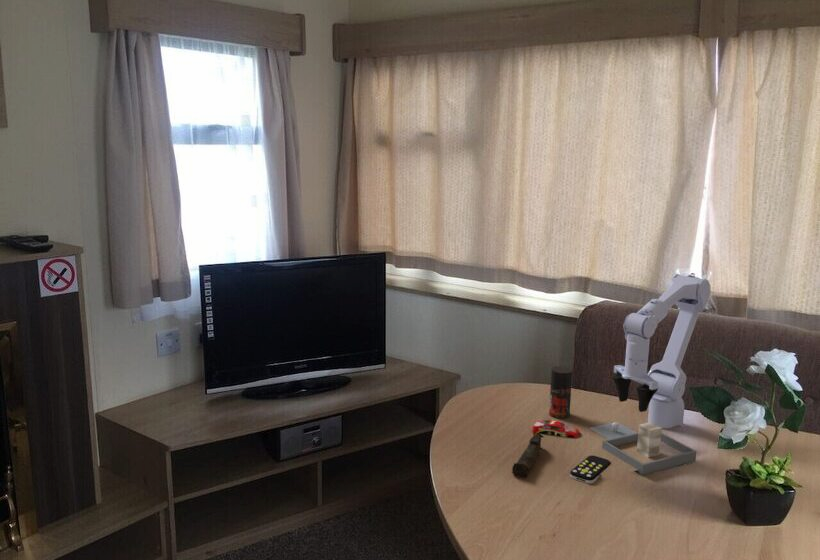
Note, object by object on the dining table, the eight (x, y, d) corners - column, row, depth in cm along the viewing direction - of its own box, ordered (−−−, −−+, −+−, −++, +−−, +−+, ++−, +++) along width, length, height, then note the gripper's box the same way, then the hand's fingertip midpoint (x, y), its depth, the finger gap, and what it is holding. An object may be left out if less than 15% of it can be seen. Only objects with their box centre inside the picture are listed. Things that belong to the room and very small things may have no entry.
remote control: (612, 467, 187) (613, 459, 186) (591, 486, 177) (591, 478, 176) (589, 460, 190) (590, 452, 190) (567, 478, 180) (568, 471, 180)
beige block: (636, 453, 192) (638, 424, 190) (648, 450, 194) (650, 422, 192) (647, 459, 189) (650, 430, 187) (659, 456, 190) (661, 427, 189)
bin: (653, 438, 202) (654, 428, 201) (695, 461, 189) (696, 451, 188) (601, 451, 194) (602, 440, 194) (642, 476, 181) (642, 464, 180)
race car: (581, 435, 204) (582, 422, 204) (579, 443, 199) (580, 430, 198) (534, 428, 208) (534, 415, 208) (530, 436, 203) (531, 423, 203)
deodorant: (544, 415, 217) (547, 367, 213) (561, 412, 219) (564, 365, 216) (556, 423, 211) (559, 374, 208) (573, 420, 214) (576, 371, 210)
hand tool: (527, 480, 179) (528, 463, 178) (511, 476, 181) (512, 459, 180) (548, 450, 196) (549, 433, 195) (534, 446, 197) (535, 430, 196)
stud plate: (616, 424, 211) (617, 412, 210) (641, 438, 202) (642, 426, 201) (588, 431, 206) (589, 418, 206) (612, 445, 198) (613, 432, 197)
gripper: (606, 352, 199) (603, 398, 203) (644, 368, 187) (640, 418, 190) (626, 348, 202) (623, 394, 206) (665, 364, 190) (661, 413, 193)
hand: (632, 405), depth 198 cm, fingers open, 7 cm apart
